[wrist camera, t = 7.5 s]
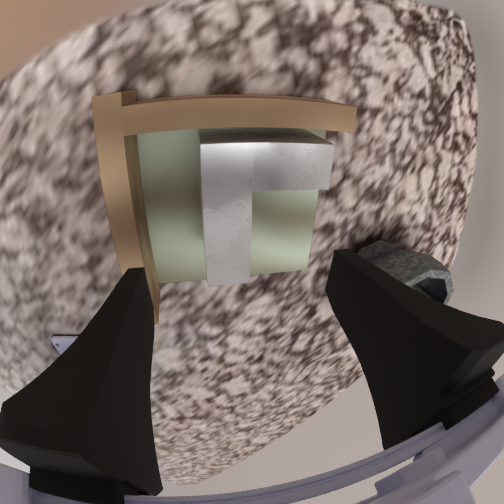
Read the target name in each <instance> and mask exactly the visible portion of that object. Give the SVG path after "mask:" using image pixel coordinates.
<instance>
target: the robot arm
mask: <svg viewBox="0 0 504 504" xmlns="http://www.w3.org/2000/svg"><path fill="white" fill-rule="evenodd" d="M325 291H326V293H327V296H328V299H329V302H330V304H331V307H332V309H333V312H334V314H335V316H336V317H337V319H338V321H339V323H340V325H341V327H342V329H343V330H344V332H345V334H346V336H347V338H348V340H349V341H350V343H351V345H352V347H353V349H354V351H355V353H356V355H357V357H358V359H359V361H360V364H361V366H362V369H363V372H364V374H365V377H366V380H367V382H368V386H369V389H370V392H371V395H372V398H373V402H374V406H375V410H376V414H377V418H378V422H379V427H380V432H381V438H382V445H383V448H384V451H382V452H380V453H378V454H375V455H373V456H371V457H368V458H365V459H363V460H360V461H358V462H355V463H352V464H350V465H347V466H344V467H341V468H338V469H335V470H332V471H329V472H325V473H322V474H319V475H316V476H312V477H308V478H305V479H301V480H297V481H293V482H289V483H284V484H280V485H275V486H270V487H265V488H259V489H254V490H247V491H241V492H234V493H225V494H215V495H203V496H185V497H184V496H181V497H154V496H157V495H158V494H159V493H160V492H161V491H162V490H163V487H162V483H161V478H160V473H159V468H158V463H157V457H156V450H155V443H154V436H153V427H152V417H151V403H150V378H151V364H152V353H153V342H154V306H153V302H152V298H151V294H150V290H149V286H148V282H147V277H146V273H145V269H144V267H138V268H128V269H127V270H126V272H125V273H124V275H123V276H122V277H121V279H120V280H119V282H118V283H117V285H116V286H115V288H114V289H113V291H112V292H111V294H110V295H109V297H108V298H107V299H106V301H105V302H104V304H103V305H102V307H101V308H100V309H99V311H98V312H97V313H96V315H95V316H94V317H93V319H92V320H91V321H90V323H89V324H88V325H87V327H86V328H85V329H84V330H83V331H82V333H81V334H80V335H79V336H53V337H52V339H51V341H52V343H53V344H54V346H55V347H56V349H57V351H58V352H59V354H60V356H59V357H58V358H57V359H56V360H55V361H54V362H53V363H52V364H51V365H50V366H49V367H48V368H47V369H46V370H45V371H44V372H42V373H41V374H40V375H39V376H38V377H37V378H35V379H34V380H33V381H32V382H31V383H29V384H28V385H27V386H25V387H24V388H23V389H21V390H20V391H19V392H17V393H16V394H14V395H13V396H12V397H10V398H9V399H7V400H6V401H4V402H3V404H2V408H1V412H0V447H1V448H2V449H3V450H5V451H6V452H8V453H9V454H10V455H12V456H14V457H15V458H17V459H18V460H20V461H22V462H24V463H25V464H27V465H28V466H30V474H29V473H26V472H24V471H21V470H19V469H15V468H13V467H10V466H7V465H4V464H1V463H0V504H290V503H294V502H298V501H301V500H305V499H309V498H312V497H316V496H319V495H322V494H326V493H329V492H332V491H335V490H338V489H340V488H343V487H346V486H349V485H352V484H354V483H357V482H359V481H362V480H364V479H367V478H369V477H372V476H374V475H376V474H378V473H381V472H383V471H385V470H387V469H389V468H391V467H393V466H396V465H398V464H400V463H402V462H404V461H406V460H407V459H410V458H411V457H413V456H415V455H416V456H415V457H414V459H413V462H412V463H411V464H408V465H407V466H405V467H403V468H401V469H399V470H398V471H396V472H395V473H393V474H391V475H389V476H387V477H385V478H384V479H382V480H380V481H377V482H376V483H375V487H376V490H377V492H378V493H377V495H375V496H372V497H370V498H368V499H365V500H363V501H360V502H358V503H355V504H475V500H474V497H473V495H472V493H471V490H470V487H471V486H472V485H473V484H474V483H475V482H476V481H477V480H478V479H479V478H480V477H481V476H482V475H483V474H484V472H485V471H486V470H487V469H488V468H489V467H490V466H491V465H492V464H493V462H494V461H495V460H496V459H497V458H498V457H499V455H500V454H501V453H502V452H503V450H504V374H503V375H502V376H501V377H499V378H498V379H497V380H496V381H495V382H494V380H493V379H492V377H493V376H494V374H495V372H494V370H493V369H492V366H493V365H494V364H495V362H497V360H498V359H499V358H500V357H501V355H502V354H503V353H504V324H503V323H502V322H500V321H495V320H491V319H487V318H483V317H478V316H476V315H472V314H469V313H466V312H463V311H460V310H458V309H455V308H452V307H450V306H447V305H445V304H443V303H440V302H438V301H436V300H434V299H432V298H430V297H428V296H426V295H424V294H422V293H420V292H418V291H416V290H414V289H413V288H411V287H409V286H408V285H406V284H404V283H402V282H401V281H399V280H397V279H396V278H394V277H393V276H391V275H389V274H388V273H386V272H385V271H383V270H382V269H380V268H378V267H377V266H375V265H374V264H372V263H371V262H369V261H368V260H366V259H364V258H363V257H361V256H360V255H358V254H356V253H354V252H353V251H351V250H349V249H343V250H334V255H333V259H332V264H331V268H330V272H329V277H328V281H327V285H326V289H325ZM150 496H151V497H150Z"/></svg>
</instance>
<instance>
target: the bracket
mask: <svg viewBox="0 0 504 504" xmlns="http://www.w3.org/2000/svg"><path fill="white" fill-rule="evenodd" d="M334 146H335V145H334V144H332V143H330V142H328V141H326V140H324V139H323V138H321V137H319V136H317V135H315V134H313V133H311V132H309V131H307V130H305V129H300V128H274V127H230V128H203V129H198V157H199V184H200V205H201V223H202V238H203V249H204V258H205V266H206V275H207V283H208V287H210V286H221V285H231V284H241V283H249V281H250V252H251V224H252V195H253V191H275V190H327V189H329V184H330V177H331V170H332V162H333V154H334Z"/></svg>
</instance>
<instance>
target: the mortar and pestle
mask: <svg viewBox="0 0 504 504" xmlns="http://www.w3.org/2000/svg"><path fill="white" fill-rule="evenodd" d="M357 254H358V255H360V256H361V257H363V258H364V259H366V260H368V261H369V262H371V263H372V264H374V265H375V266H377V267H378V268H380V269H382V270H383V271H385V272H386V273H388V274H389V275H391V276H393V277H394V278H396V279H397V280H399V281H401V282H402V283H404V284H406V285H408V286H409V287H411V288H413V289H414V290H416V291H418V292H420V293H422V294H424V295H426V296H428V297H430V298H432V299H434V300H436V301H438V302H440V303H443V304H445V305H447V303H448V301H449V299H450V297H451V295H452V293H453V285H452V279H451V273H450V271H449V270H448V269H447V268H446V267H445V266H444V265H443V264H442V263H440V262H439V261H438V260H436V259H435V258H433V257H432V256H430V255H428V254H423V253H418V252H413V251H408V250H403V249H398V248H397V247H396V246H395V245H394V244H393V243H390V242H385V241H380V240H378V241H376V242H374V243H372V244H370V245H368V246H366V247H363V248H361V249H360V250H359V252H358V253H357Z"/></svg>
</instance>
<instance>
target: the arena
mask: <svg viewBox="0 0 504 504" xmlns="http://www.w3.org/2000/svg"><path fill="white" fill-rule="evenodd" d="M92 106H93V119H94V130H95V139H96V148H97V155H98V163H99V169H100V176H101V182H102V188H103V193H104V199H105V204H106V209H107V214H108V219H109V224H110V228H111V232H112V237H113V241H114V245H115V249H116V253H117V257H118V261H119V265H120V268H121V272H122V276H123V275H124V273H125V272H126V270H127V269H128V268H138V267H144V269H145V273H146V277H147V282H148V286H149V290H150V294H151V298H152V302H153V306H154V324H158V319H159V300H160V283H171V282H183V281H194V280H206V279H207V275H206V266H205V258H204V249H203V238H202V223H201V205H200V184H199V157H198V129H203V128H230V127H274V128H300V129H305V130H307V131H309V132H311V133H313V134H315V135H317V136H319V137H321V138H323V139H324V140H325V135H326V130H330V131H341V132H351V133H354V130H355V122H356V113H357V107H354V106H350V105H346V104H342V103H338V102H334V101H330V100H324V99H315V98H305V97H293V96H278V95H252V94H219V95H193V96H178V97H166V98H156V99H147V100H139V101H136V89H134V90H128V91H121V92H115V93H110V94H105V95H100V96H95V97H92ZM318 193H319V190H275V191H253V195H252V224H251V252H250V275H258V274H268V273H278V272H287V271H297V270H306V269H307V264H308V258H309V252H310V246H311V240H312V234H313V227H314V221H315V214H316V207H317V200H318Z"/></svg>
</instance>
